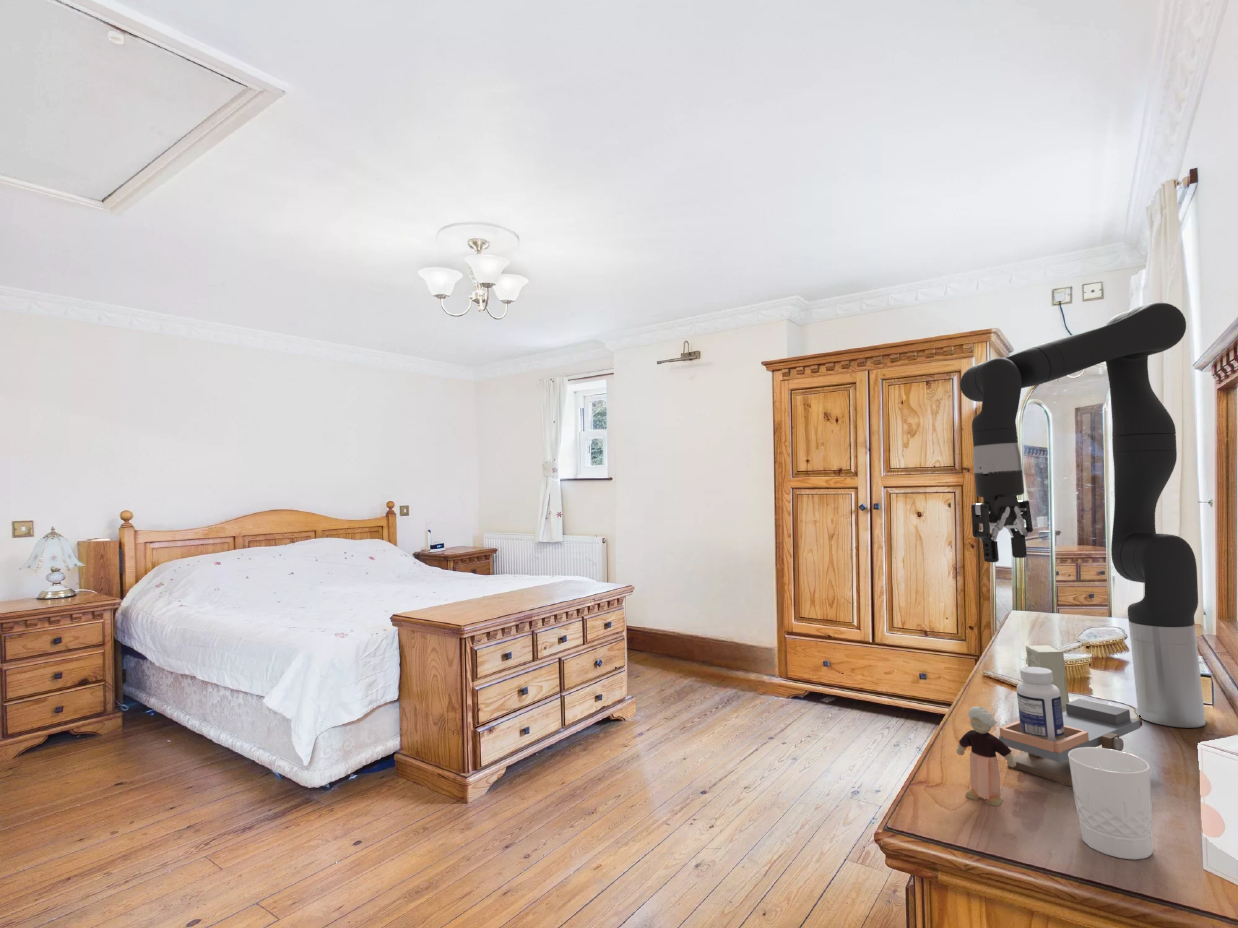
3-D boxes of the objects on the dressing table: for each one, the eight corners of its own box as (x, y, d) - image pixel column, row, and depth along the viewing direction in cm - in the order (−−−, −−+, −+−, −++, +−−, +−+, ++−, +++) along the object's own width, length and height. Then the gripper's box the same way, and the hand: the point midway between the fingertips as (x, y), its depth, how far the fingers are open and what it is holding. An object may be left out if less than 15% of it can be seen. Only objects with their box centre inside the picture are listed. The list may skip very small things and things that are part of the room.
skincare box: (1071, 718, 119) (1065, 651, 119) (1045, 718, 120) (1038, 652, 120) (1056, 708, 125) (1050, 644, 126) (1030, 707, 126) (1024, 644, 126)
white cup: (1164, 869, 72) (1155, 777, 72) (1078, 852, 76) (1069, 765, 77) (1152, 836, 78) (1144, 752, 79) (1073, 823, 83) (1066, 743, 83)
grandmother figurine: (954, 798, 91) (947, 706, 92) (961, 788, 94) (953, 699, 95) (1018, 812, 86) (1009, 715, 87) (1022, 801, 89) (1014, 707, 90)
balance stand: (1044, 750, 105) (1039, 706, 106) (1146, 780, 93) (1141, 730, 93) (1007, 765, 100) (1003, 719, 101) (1110, 799, 88) (1105, 746, 89)
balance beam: (1079, 713, 106) (1077, 696, 106) (1139, 728, 99) (1138, 709, 99) (999, 744, 95) (997, 724, 96) (1059, 762, 88) (1057, 741, 88)
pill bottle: (1051, 731, 96) (1045, 664, 97) (1073, 744, 91) (1066, 674, 92) (1013, 731, 97) (1007, 665, 97) (1032, 745, 91) (1026, 675, 92)
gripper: (1000, 470, 124) (1008, 555, 123) (953, 472, 117) (961, 562, 116) (1041, 467, 117) (1050, 557, 116) (994, 469, 110) (1003, 564, 109)
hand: (1005, 559), depth 116 cm, fingers open, 8 cm apart
